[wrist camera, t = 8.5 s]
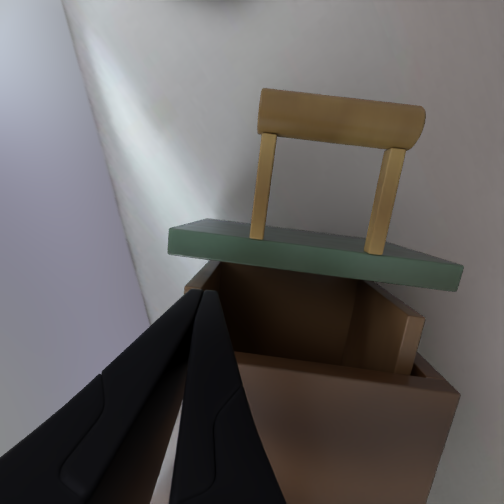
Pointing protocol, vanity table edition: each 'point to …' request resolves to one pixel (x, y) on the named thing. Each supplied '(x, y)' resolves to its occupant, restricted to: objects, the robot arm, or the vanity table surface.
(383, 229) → the drawer
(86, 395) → the robot arm
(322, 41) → the vanity table surface
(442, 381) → the cabinet
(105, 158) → the vanity table surface
